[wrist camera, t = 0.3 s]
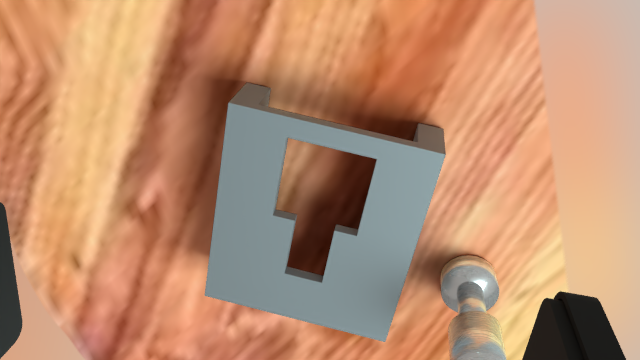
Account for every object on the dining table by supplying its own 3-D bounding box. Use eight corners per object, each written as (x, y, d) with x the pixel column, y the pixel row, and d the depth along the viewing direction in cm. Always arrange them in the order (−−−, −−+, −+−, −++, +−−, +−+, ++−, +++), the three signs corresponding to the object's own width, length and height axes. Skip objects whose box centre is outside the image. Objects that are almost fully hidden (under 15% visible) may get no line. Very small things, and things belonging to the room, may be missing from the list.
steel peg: (449, 249, 51) (457, 355, 39) (504, 263, 51) (528, 373, 39) (434, 292, 53) (437, 404, 41) (486, 305, 53) (504, 422, 41)
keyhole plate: (246, 82, 47) (228, 102, 42) (443, 128, 46) (445, 154, 42) (222, 263, 55) (204, 295, 51) (388, 305, 54) (385, 341, 50)
